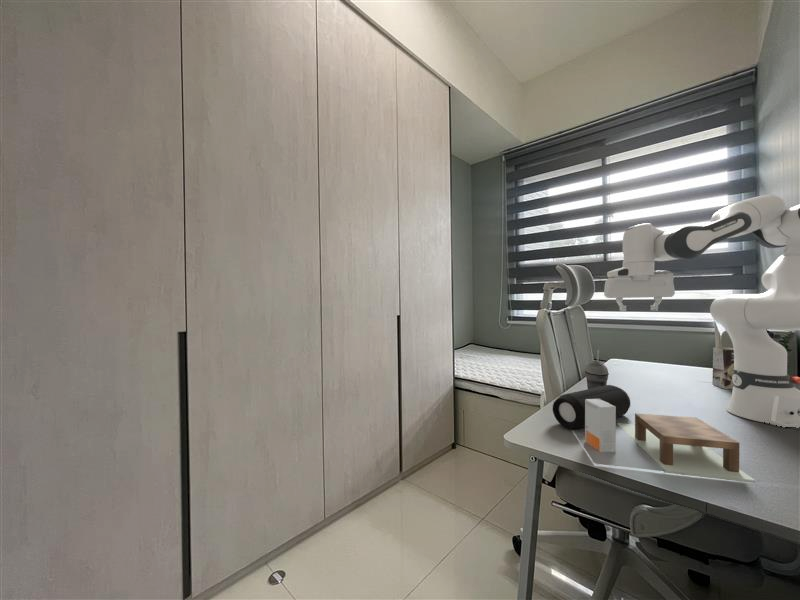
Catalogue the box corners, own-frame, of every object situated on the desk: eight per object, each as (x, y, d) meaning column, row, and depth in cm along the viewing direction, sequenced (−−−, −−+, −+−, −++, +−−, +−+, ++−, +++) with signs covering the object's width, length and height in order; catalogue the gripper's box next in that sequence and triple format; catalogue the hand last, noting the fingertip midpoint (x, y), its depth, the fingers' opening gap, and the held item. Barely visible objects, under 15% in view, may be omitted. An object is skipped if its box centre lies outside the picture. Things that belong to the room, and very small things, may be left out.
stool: (696, 417, 82) (739, 442, 68) (696, 442, 82) (739, 472, 68) (635, 413, 85) (663, 436, 72) (635, 437, 85) (663, 464, 72)
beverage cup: (601, 401, 114) (601, 347, 114) (613, 409, 107) (613, 351, 107) (581, 401, 115) (580, 347, 115) (591, 408, 108) (591, 351, 107)
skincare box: (584, 443, 84) (584, 398, 83) (599, 442, 84) (599, 398, 84) (600, 454, 78) (600, 407, 77) (616, 453, 78) (616, 406, 78)
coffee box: (724, 389, 126) (725, 349, 126) (711, 384, 133) (712, 346, 132) (751, 389, 125) (751, 349, 125) (736, 385, 131) (737, 347, 131)
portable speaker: (580, 436, 88) (579, 401, 88) (549, 423, 97) (549, 391, 97) (633, 419, 98) (633, 388, 98) (601, 409, 107) (601, 380, 107)
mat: (679, 429, 91) (679, 428, 91) (755, 482, 66) (755, 480, 66) (616, 424, 95) (616, 423, 95) (665, 472, 70) (665, 470, 70)
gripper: (667, 270, 109) (668, 309, 110) (602, 272, 114) (602, 310, 115) (679, 269, 103) (679, 311, 103) (609, 271, 108) (609, 311, 108)
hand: (638, 310), depth 109 cm, fingers open, 8 cm apart
